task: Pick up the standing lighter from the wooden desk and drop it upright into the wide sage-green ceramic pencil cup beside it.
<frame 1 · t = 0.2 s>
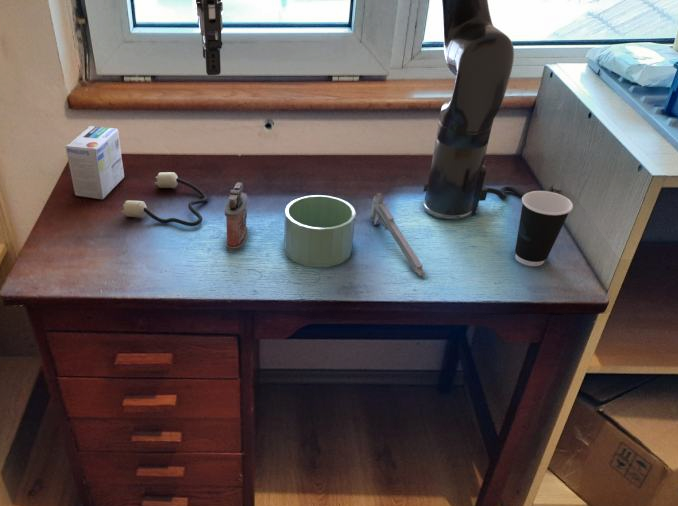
hand: (211, 65, 106), 29 cm above the table, tool pointing down, fingers open, 8 cm apart
caliper: (395, 247, 118), on the table
pencil cup: (317, 249, 118), on the table
cable: (174, 205, 131), on the table
light bulb box: (100, 187, 137), on the table
dixie cup: (529, 259, 115), on the table
lighter: (237, 240, 120), on the table
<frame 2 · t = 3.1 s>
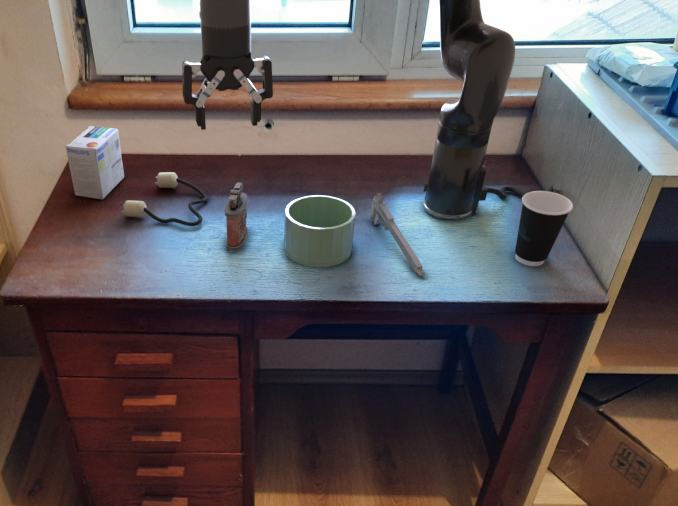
hand: (228, 126, 108), 21 cm above the table, tool pointing down, fingers open, 8 cm apart
nothing on the table moved.
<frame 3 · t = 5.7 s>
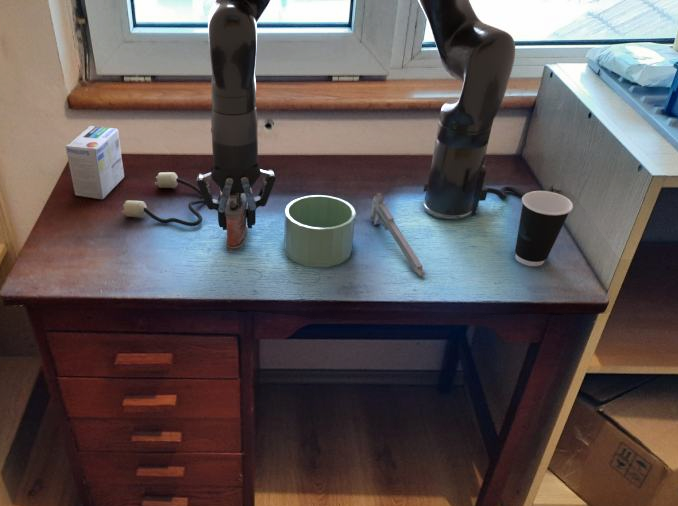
hand: (237, 226, 118), 3 cm above the table, tool pointing down, fingers closed on lighter, 4 cm apart
lighter: (237, 240, 120), on the table, touching gripper
everything else where it was.
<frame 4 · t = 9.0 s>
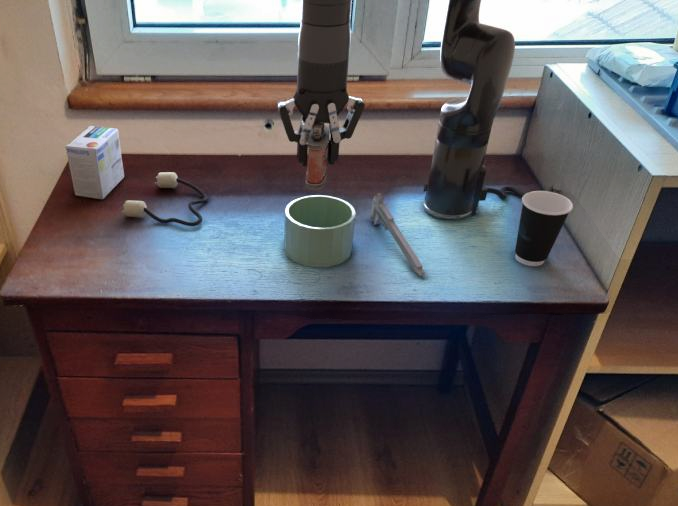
hand: (317, 162, 107), 16 cm above the table, tool pointing down, fingers closed on lighter, 4 cm apart
lighter: (316, 179, 109), point 13 cm above the table, touching gripper
everything else where it was.
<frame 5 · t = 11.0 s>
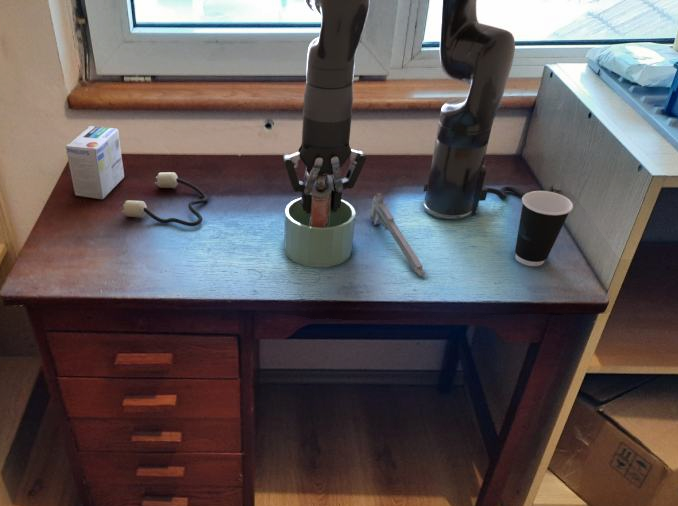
hand: (320, 210, 113), 8 cm above the table, tool pointing down, fingers closed on lighter, 4 cm apart
lighter: (319, 225, 114), point 5 cm above the table, touching gripper
everything else where it was.
when the fingers open (5 cm above the table, at t = 12.9 s): lighter stays where it is, resting on pencil cup.
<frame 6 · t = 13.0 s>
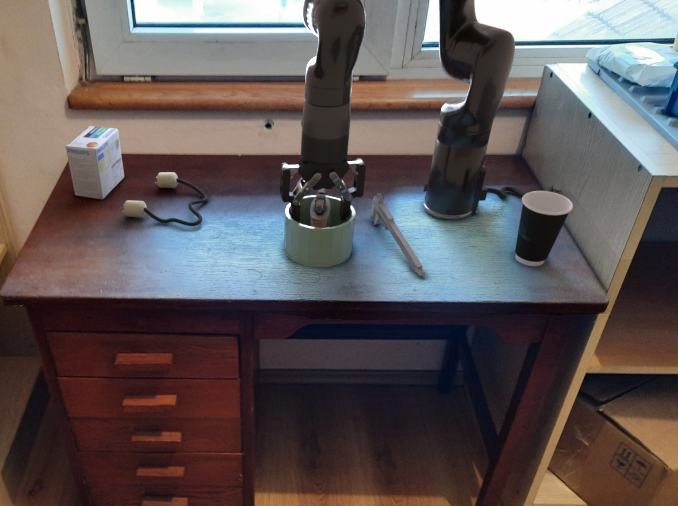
hand: (319, 219, 114), 6 cm above the table, tool pointing down, fingers open, 7 cm apart
lighter: (317, 246, 117), point 1 cm above the table, touching pencil cup
everything else where it was.
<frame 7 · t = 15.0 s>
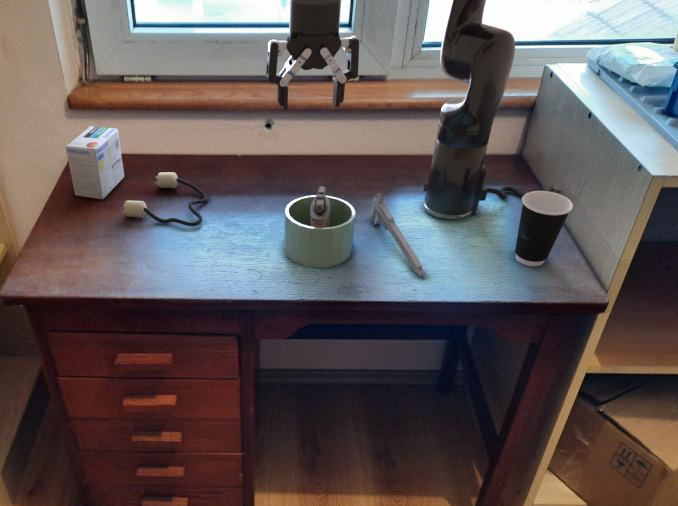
hand: (310, 106, 106), 24 cm above the table, tool pointing down, fingers open, 8 cm apart
nothing on the table moved.
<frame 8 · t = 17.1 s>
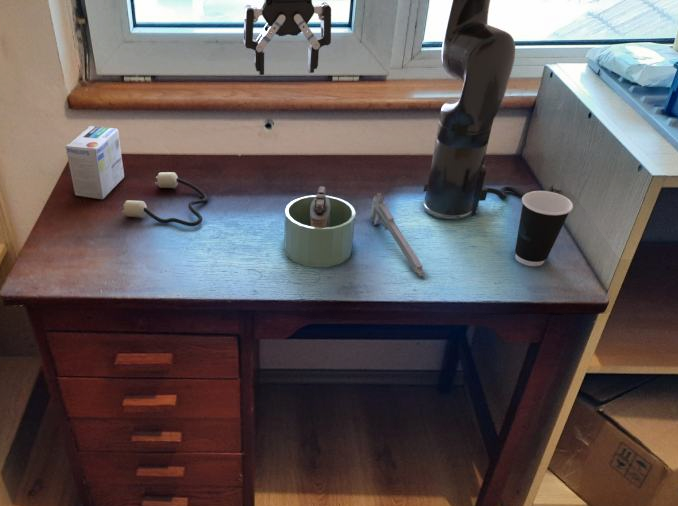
hand: (286, 72, 112), 26 cm above the table, tool pointing down, fingers open, 8 cm apart
nothing on the table moved.
at the end: lighter inside the target area in the pencil cup (0.1 cm from its centre), point 0.6 cm above the pencil cup's base; the gripper is holding nothing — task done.
